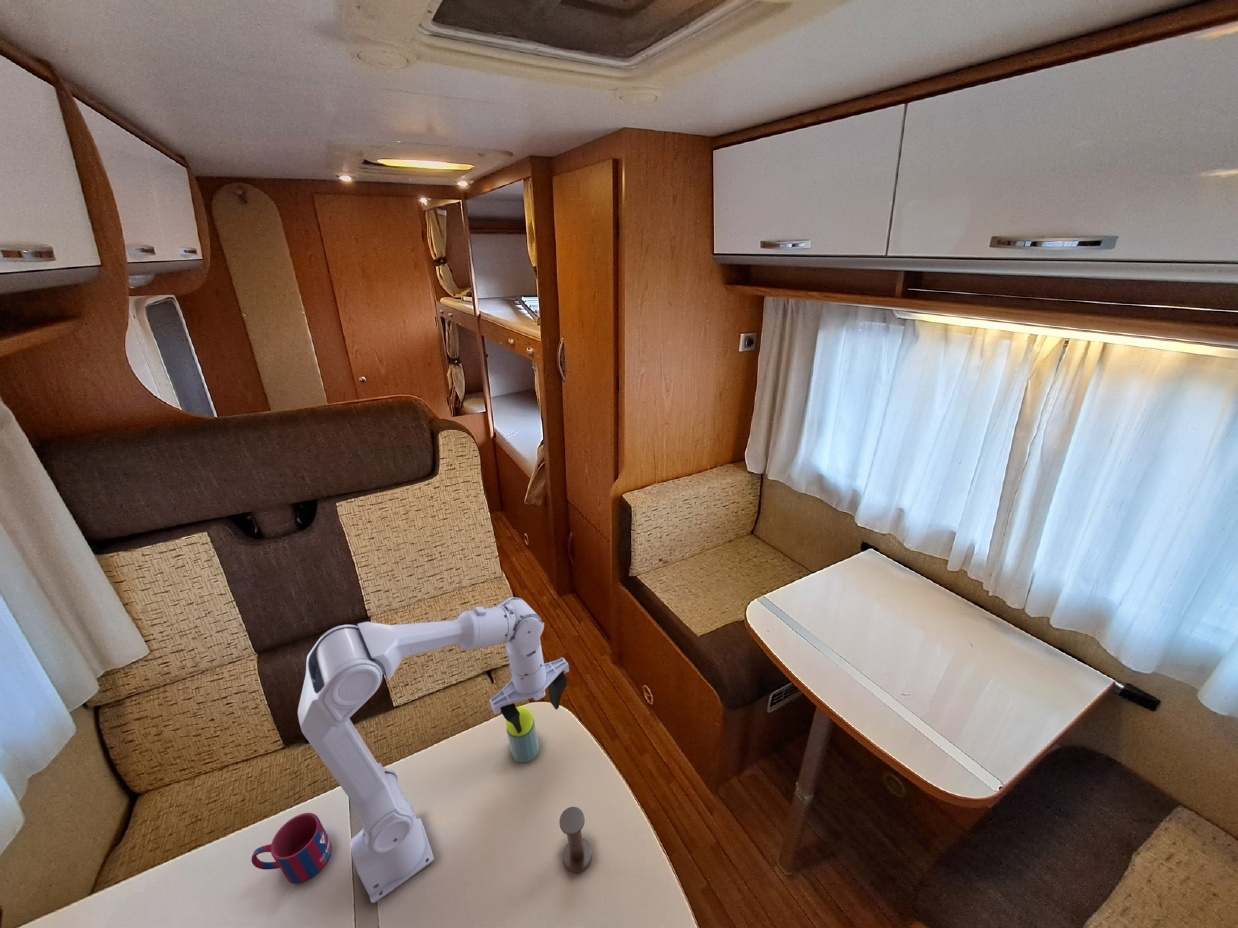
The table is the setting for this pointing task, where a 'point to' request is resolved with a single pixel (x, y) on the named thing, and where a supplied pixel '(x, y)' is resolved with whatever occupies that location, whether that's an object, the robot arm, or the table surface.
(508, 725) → the ball
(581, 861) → the stand
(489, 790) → the table surface
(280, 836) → the cup
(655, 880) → the table surface
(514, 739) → the tumbler
